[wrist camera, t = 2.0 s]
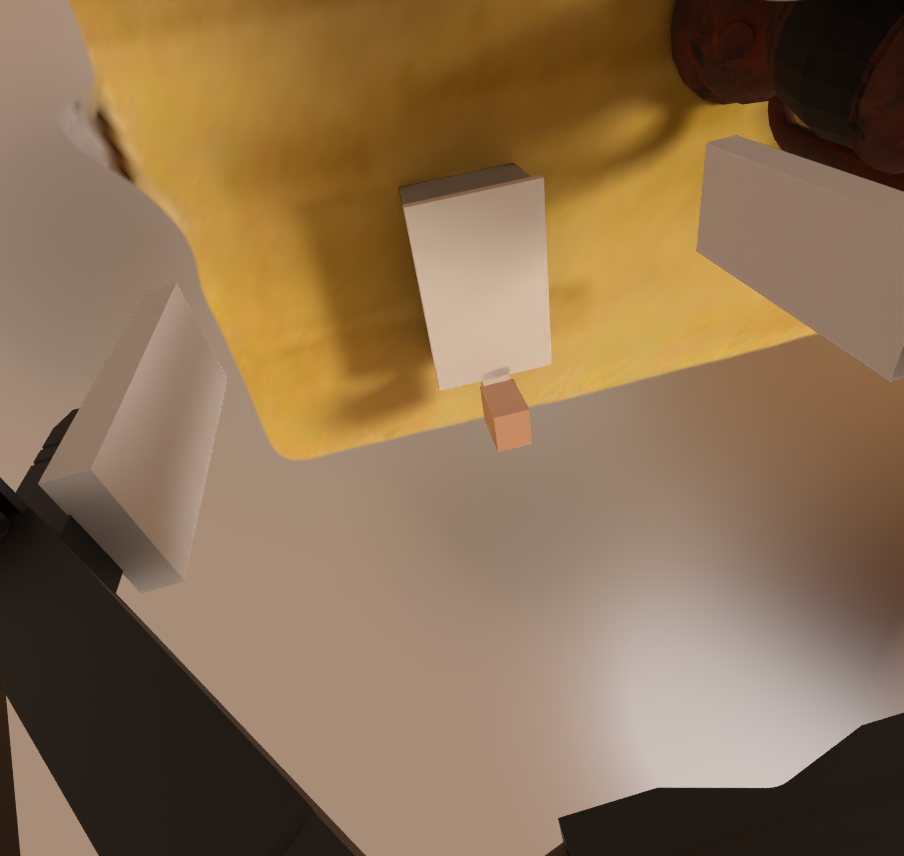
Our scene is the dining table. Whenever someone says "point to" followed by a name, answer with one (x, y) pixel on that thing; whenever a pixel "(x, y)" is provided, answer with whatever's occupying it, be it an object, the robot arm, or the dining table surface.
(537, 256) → the lid
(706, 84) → the lantern
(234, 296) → the dining table surface
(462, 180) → the tub
